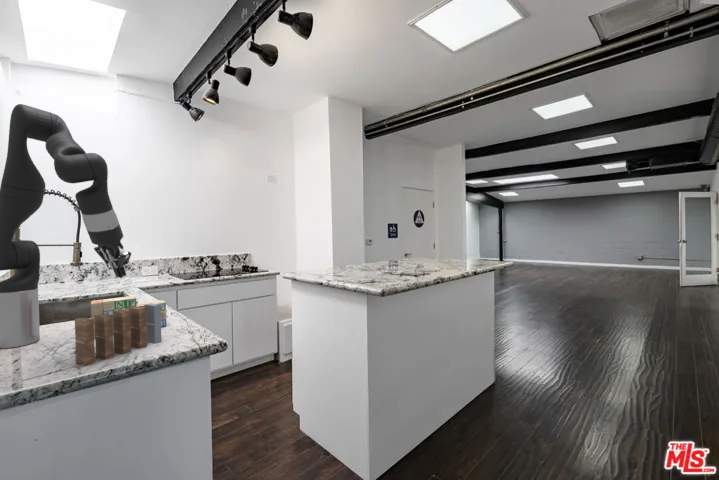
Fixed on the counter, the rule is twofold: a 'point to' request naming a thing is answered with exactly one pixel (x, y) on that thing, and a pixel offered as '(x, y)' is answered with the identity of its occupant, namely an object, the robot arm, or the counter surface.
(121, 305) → the stack of blocks
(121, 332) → the domino
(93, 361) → the domino
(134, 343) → the domino
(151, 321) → the domino
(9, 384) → the counter surface
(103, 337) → the domino
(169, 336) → the counter surface
